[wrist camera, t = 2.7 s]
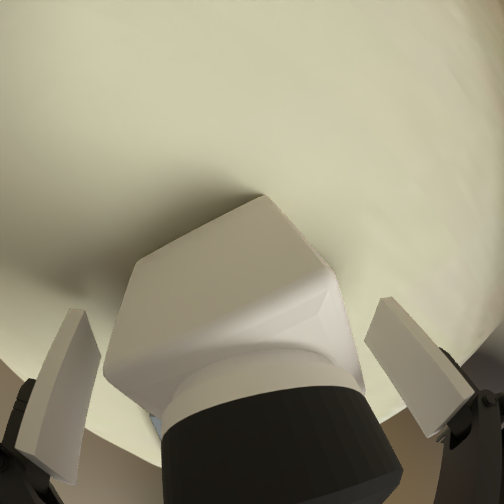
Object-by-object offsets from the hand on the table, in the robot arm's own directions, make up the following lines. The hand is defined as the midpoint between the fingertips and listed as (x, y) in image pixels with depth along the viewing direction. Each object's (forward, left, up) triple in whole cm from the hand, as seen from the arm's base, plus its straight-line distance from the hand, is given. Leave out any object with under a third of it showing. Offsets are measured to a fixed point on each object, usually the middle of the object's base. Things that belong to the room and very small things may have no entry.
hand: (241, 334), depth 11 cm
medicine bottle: (0, 0, -4) cm, 4 cm away
